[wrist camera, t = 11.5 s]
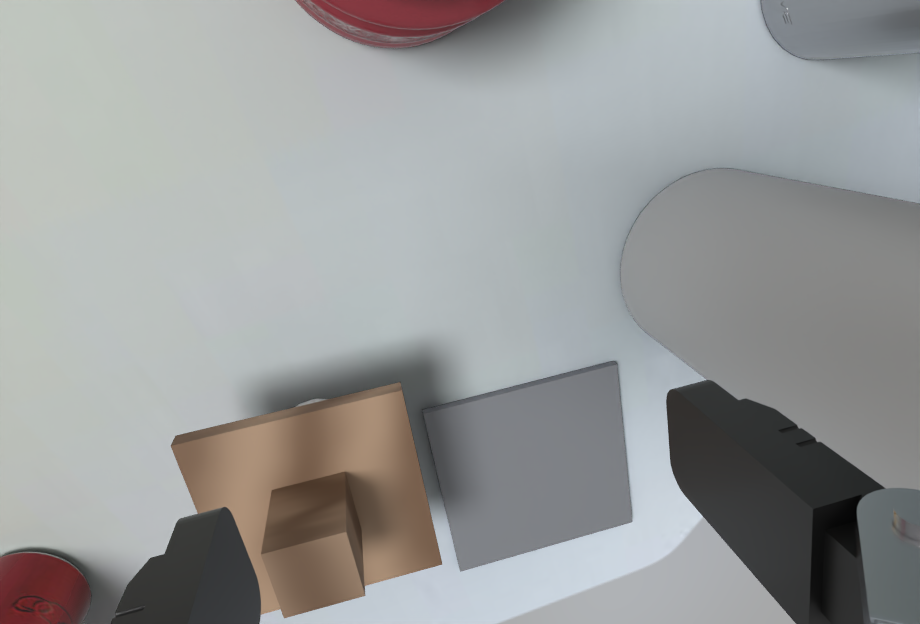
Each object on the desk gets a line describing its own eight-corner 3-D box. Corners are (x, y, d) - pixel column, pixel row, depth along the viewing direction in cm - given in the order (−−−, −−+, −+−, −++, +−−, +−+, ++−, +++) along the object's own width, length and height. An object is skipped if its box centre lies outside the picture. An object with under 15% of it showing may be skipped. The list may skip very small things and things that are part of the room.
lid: (400, 382, 33) (412, 439, 28) (439, 552, 38) (457, 632, 32) (175, 435, 32) (141, 507, 26) (243, 606, 36) (226, 699, 31)
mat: (613, 360, 44) (616, 364, 43) (629, 517, 49) (632, 521, 48) (422, 410, 42) (423, 414, 41) (458, 566, 47) (460, 571, 47)
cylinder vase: (807, 182, 42) (1391, 290, 19) (749, 350, 46) (1176, 615, 22) (643, 152, 39) (1091, 235, 16) (596, 334, 43) (902, 618, 19)
